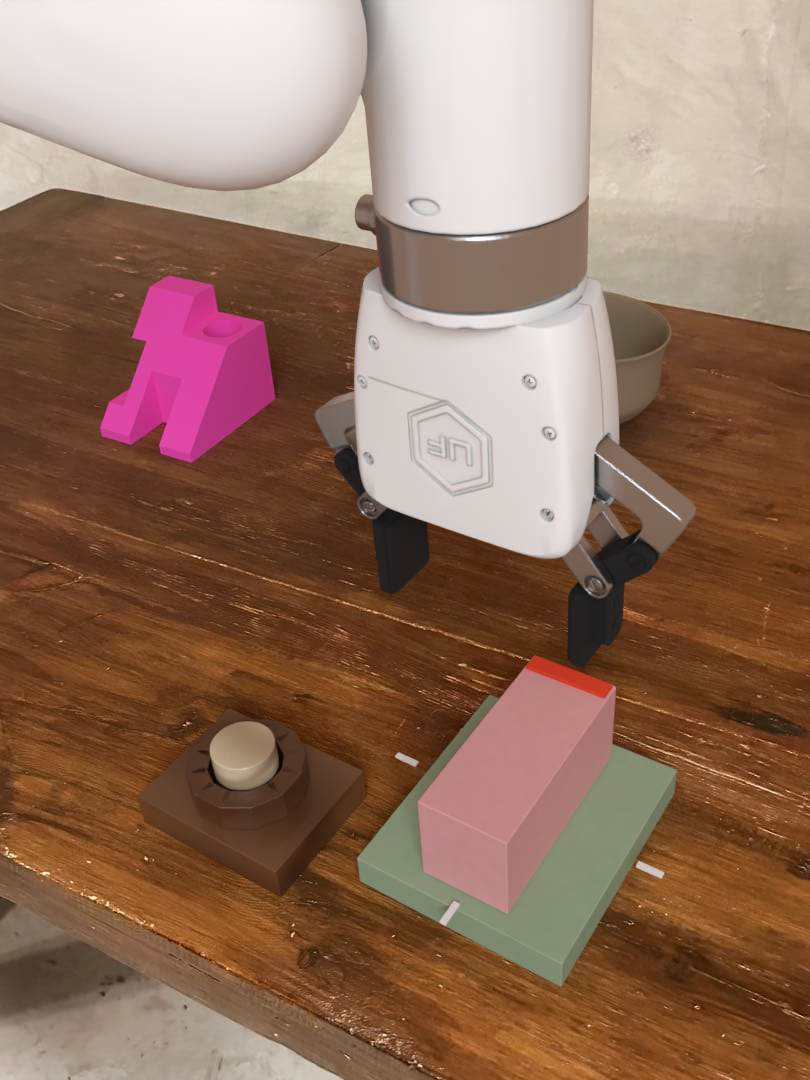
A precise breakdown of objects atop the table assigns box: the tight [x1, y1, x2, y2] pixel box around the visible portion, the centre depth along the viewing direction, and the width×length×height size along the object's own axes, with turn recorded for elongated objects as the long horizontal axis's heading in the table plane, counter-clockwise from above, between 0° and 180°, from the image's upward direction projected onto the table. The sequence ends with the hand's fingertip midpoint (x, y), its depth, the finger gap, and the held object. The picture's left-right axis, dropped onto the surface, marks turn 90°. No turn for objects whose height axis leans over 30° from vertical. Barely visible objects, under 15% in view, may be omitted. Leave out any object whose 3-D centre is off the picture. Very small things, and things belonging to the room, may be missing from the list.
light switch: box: [136, 708, 367, 898], centre depth 63 cm, size 8×10×4 cm
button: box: [210, 721, 279, 791], centre depth 62 cm, size 4×4×2 cm
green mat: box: [356, 694, 678, 988], centre depth 61 cm, size 16×16×2 cm
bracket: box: [99, 275, 276, 464], centre depth 98 cm, size 12×10×10 cm
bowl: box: [603, 290, 673, 426], centre depth 93 cm, size 13×13×10 cm
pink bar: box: [417, 654, 617, 914], centre depth 59 cm, size 12×5×6 cm, turn 147°
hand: (494, 610), depth 51 cm, fingers open, 9 cm apart
